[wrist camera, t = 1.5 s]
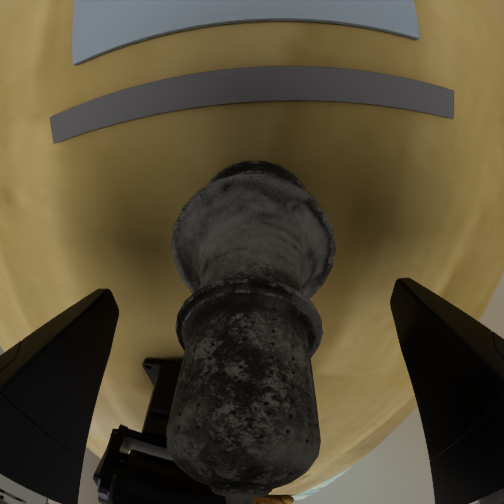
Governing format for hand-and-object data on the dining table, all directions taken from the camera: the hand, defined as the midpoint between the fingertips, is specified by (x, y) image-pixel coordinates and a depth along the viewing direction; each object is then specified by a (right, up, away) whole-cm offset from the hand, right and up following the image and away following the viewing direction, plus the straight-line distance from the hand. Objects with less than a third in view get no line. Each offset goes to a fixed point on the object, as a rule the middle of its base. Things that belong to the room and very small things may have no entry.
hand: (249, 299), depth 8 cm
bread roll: (+7, -75, +51) cm, 91 cm away
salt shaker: (0, +3, +5) cm, 6 cm away
